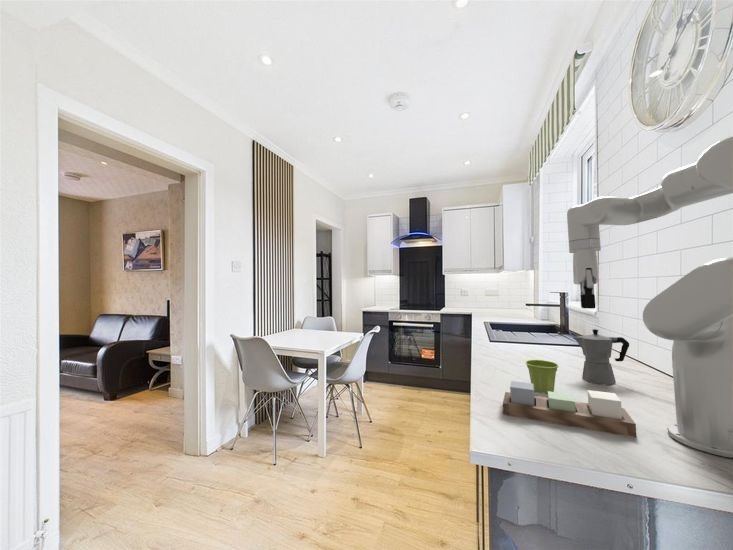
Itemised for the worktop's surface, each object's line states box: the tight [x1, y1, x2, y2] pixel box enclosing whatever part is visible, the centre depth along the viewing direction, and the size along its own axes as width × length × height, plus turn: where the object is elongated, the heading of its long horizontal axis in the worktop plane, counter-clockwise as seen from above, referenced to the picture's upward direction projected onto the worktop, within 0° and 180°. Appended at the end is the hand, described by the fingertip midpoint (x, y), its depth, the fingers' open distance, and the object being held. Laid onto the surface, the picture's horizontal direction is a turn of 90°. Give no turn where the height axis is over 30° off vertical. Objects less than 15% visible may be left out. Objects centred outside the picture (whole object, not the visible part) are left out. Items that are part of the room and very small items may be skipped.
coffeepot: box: [572, 328, 630, 385], centre depth 101 cm, size 15×9×18 cm, turn 55°
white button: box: [587, 389, 623, 419], centre depth 71 cm, size 6×6×5 cm
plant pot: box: [524, 359, 560, 394], centre depth 94 cm, size 9×9×9 cm
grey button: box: [509, 380, 535, 406], centre depth 79 cm, size 6×6×5 cm
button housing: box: [502, 391, 638, 438], centre depth 75 cm, size 27×9×3 cm, turn 60°
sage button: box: [547, 391, 576, 412], centre depth 75 cm, size 6×6×5 cm
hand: (588, 308), depth 85 cm, fingers closed
